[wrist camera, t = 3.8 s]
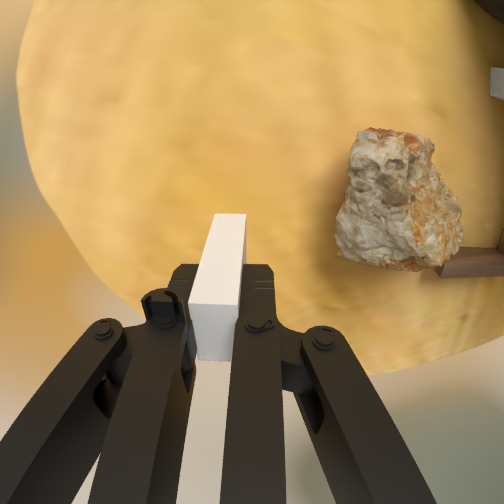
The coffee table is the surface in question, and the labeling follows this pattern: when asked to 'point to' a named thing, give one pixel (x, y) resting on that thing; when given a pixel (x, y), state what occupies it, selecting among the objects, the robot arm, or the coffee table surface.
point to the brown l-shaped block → (474, 262)
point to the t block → (497, 83)
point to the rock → (396, 205)
